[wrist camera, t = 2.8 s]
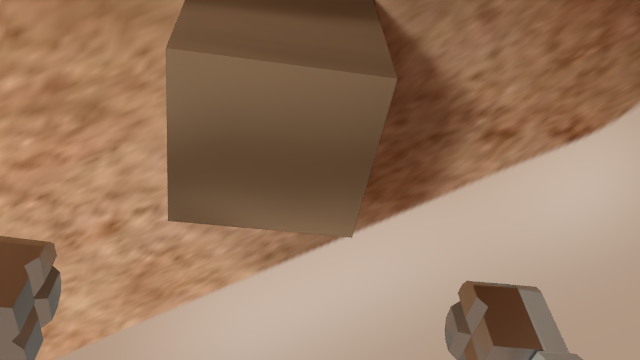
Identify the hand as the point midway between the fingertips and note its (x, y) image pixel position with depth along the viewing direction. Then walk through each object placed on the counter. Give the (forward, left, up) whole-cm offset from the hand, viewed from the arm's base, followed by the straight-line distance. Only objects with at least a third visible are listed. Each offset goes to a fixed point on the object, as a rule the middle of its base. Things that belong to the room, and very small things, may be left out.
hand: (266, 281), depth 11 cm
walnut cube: (-1, 0, -8) cm, 8 cm away
